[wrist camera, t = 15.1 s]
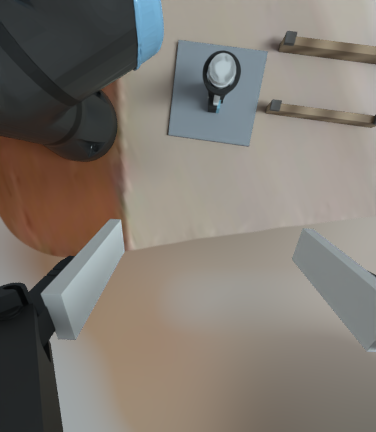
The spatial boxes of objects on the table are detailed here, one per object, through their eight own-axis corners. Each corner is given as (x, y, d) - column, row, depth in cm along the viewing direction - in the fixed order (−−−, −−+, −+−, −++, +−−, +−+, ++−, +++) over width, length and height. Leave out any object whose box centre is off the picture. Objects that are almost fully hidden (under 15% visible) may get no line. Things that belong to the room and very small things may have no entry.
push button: (203, 74, 33) (206, 31, 24) (232, 77, 33) (247, 34, 24) (199, 113, 35) (200, 88, 25) (227, 116, 35) (239, 92, 25)
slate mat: (168, 135, 36) (168, 134, 36) (179, 42, 33) (178, 40, 33) (248, 146, 36) (248, 145, 36) (266, 53, 33) (267, 51, 32)
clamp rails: (265, 114, 35) (270, 109, 32) (280, 42, 32) (287, 30, 30) (370, 128, 34) (384, 124, 32) (394, 56, 32) (411, 46, 29)
